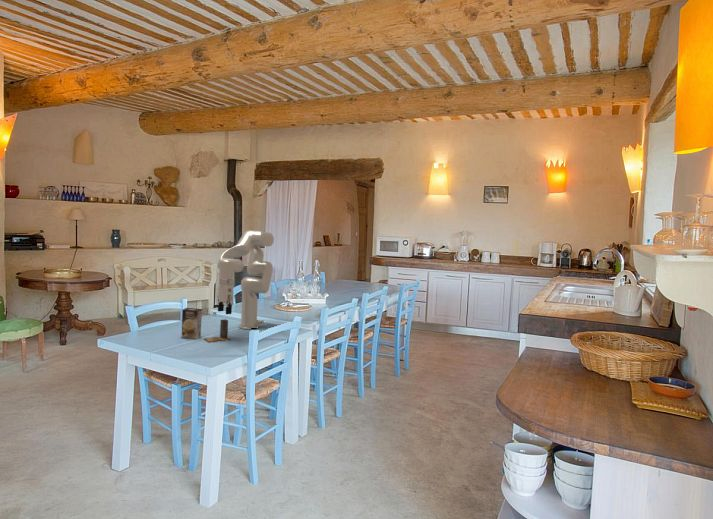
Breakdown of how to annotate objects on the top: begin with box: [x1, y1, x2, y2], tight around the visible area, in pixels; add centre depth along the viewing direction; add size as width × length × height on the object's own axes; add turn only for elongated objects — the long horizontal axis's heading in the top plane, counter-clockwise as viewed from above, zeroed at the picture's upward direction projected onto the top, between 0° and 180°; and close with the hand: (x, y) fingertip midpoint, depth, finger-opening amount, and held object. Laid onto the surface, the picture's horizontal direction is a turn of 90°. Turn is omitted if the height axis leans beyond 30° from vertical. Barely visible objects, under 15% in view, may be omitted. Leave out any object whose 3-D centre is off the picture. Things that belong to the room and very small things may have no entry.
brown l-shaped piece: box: [203, 319, 231, 343], centre depth 275 cm, size 12×7×11 cm, turn 131°
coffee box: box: [180, 307, 203, 340], centre depth 277 cm, size 9×6×16 cm
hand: (224, 312), depth 276 cm, fingers open, 9 cm apart
